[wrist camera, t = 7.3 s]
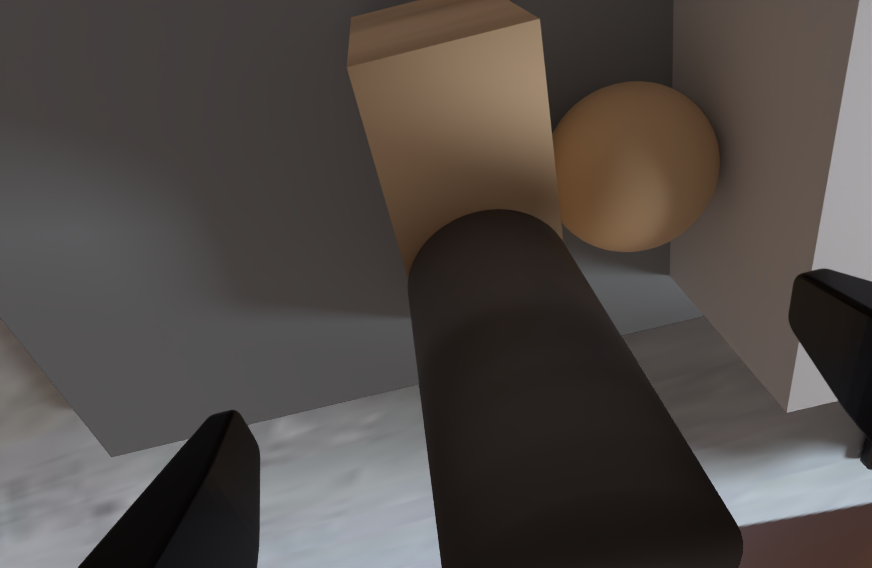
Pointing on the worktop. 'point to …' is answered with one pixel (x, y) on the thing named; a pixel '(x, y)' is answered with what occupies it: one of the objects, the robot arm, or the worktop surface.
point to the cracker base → (365, 204)
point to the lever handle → (516, 313)
